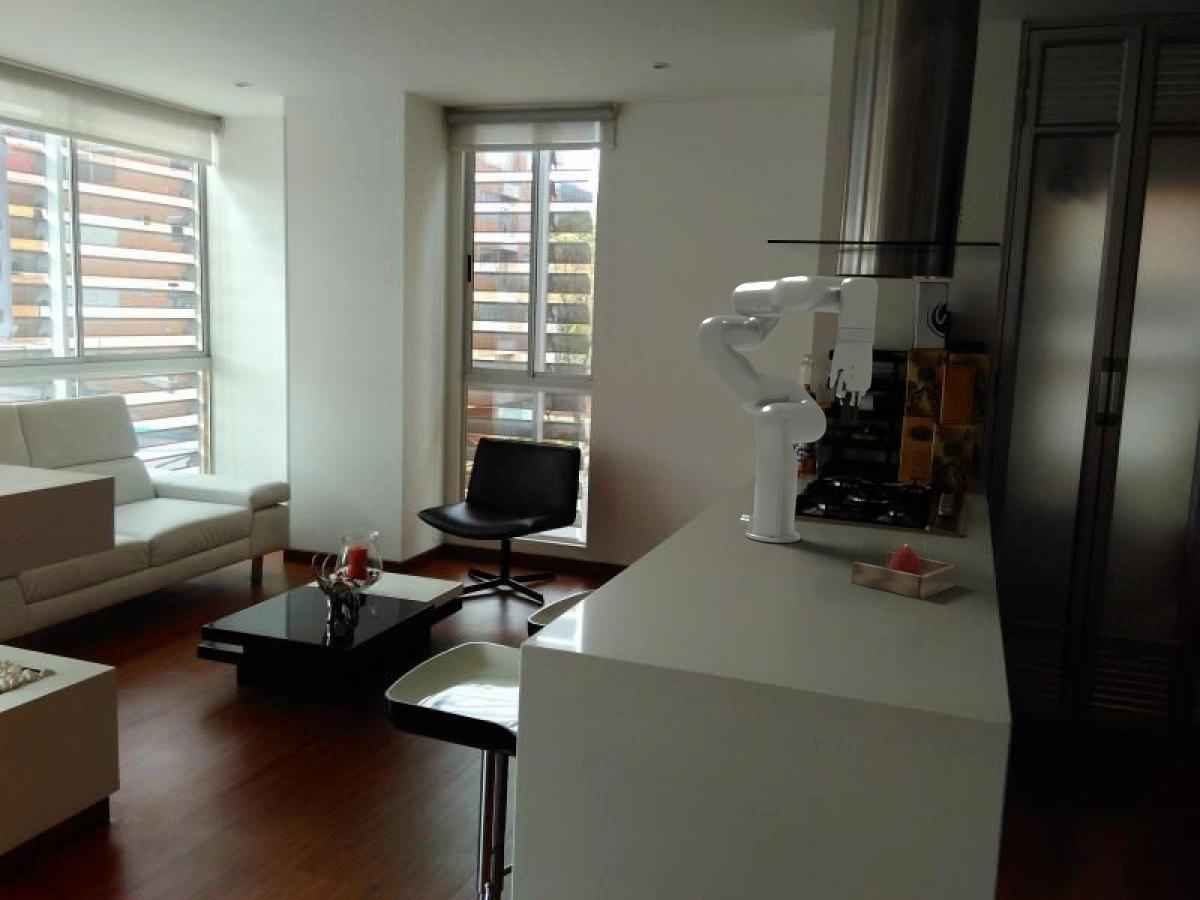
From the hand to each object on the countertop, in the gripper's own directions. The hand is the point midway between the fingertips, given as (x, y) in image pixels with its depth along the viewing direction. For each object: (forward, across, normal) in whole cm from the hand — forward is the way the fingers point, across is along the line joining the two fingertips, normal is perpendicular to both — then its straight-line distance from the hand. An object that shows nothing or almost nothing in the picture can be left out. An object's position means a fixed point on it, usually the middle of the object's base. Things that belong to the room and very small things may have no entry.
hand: (848, 423), depth 204 cm
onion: (+29, +9, +19) cm, 36 cm away
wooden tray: (+29, +9, +19) cm, 36 cm away
